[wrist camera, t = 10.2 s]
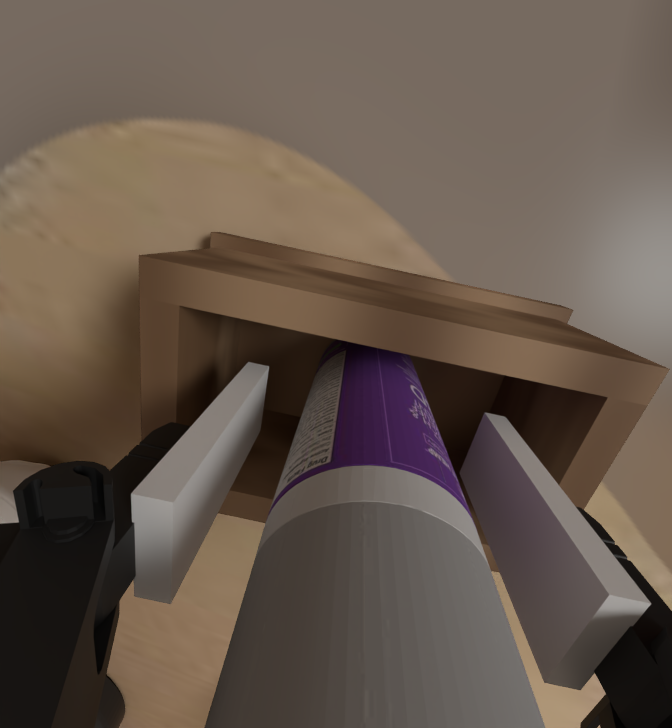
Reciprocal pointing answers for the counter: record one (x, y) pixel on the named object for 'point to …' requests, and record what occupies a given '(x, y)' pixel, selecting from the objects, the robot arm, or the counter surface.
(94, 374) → the counter surface
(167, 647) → the counter surface
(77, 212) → the counter surface
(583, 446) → the open wooden box
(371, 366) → the container
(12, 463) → the cell model
